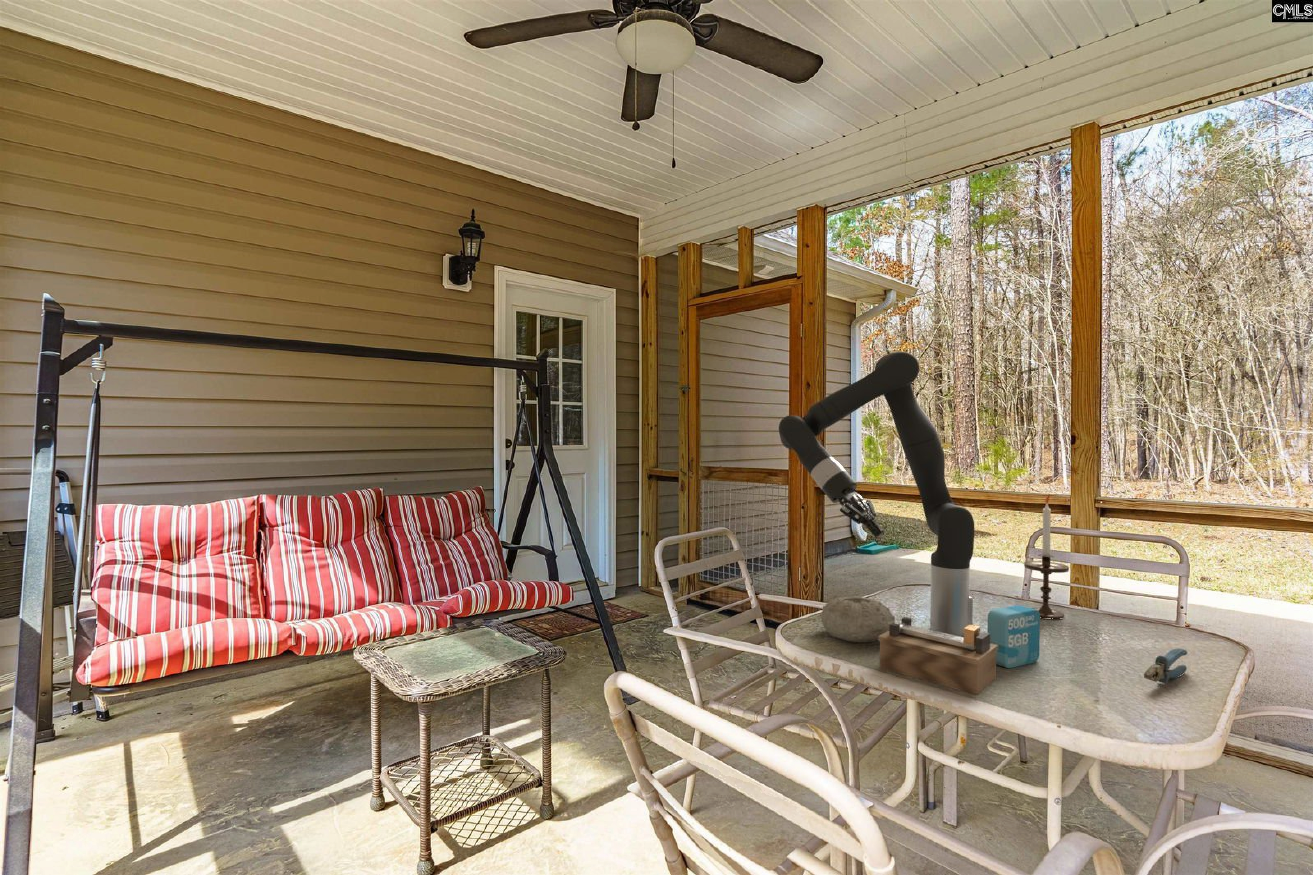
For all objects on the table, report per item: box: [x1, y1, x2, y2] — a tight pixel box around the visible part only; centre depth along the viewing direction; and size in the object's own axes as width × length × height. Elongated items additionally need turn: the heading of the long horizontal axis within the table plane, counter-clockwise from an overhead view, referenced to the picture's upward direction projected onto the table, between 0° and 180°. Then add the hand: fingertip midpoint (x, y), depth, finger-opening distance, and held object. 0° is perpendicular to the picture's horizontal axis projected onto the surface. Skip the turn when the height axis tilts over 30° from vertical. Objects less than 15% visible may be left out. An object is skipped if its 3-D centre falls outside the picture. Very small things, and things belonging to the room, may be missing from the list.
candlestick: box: [1023, 493, 1070, 619], centre depth 180 cm, size 11×11×35 cm
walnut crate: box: [877, 616, 998, 695], centre depth 136 cm, size 21×13×10 cm, turn 46°
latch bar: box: [900, 622, 981, 650], centre depth 136 cm, size 17×4×4 cm, turn 46°
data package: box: [986, 604, 1041, 669], centre depth 143 cm, size 12×4×12 cm, turn 116°
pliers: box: [1143, 648, 1188, 684], centre depth 132 cm, size 20×2×6 cm, turn 123°
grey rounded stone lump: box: [820, 595, 896, 643], centre depth 159 cm, size 18×18×10 cm
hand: (880, 534), depth 149 cm, fingers closed
